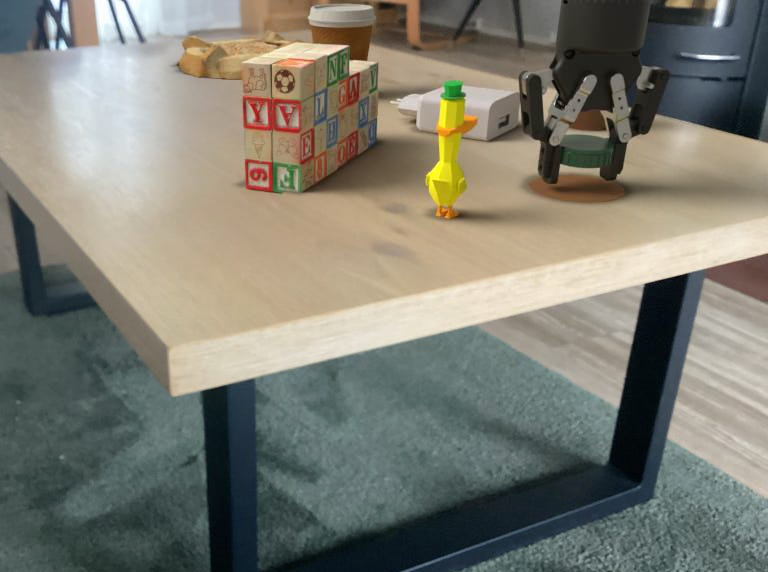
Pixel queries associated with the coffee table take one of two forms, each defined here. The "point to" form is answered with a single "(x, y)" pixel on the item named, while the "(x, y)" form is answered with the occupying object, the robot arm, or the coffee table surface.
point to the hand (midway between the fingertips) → (578, 179)
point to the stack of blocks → (305, 114)
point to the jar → (589, 121)
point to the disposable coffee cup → (343, 27)
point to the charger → (467, 110)
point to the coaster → (578, 189)
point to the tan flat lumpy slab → (226, 54)
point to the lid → (586, 151)
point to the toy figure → (450, 149)
